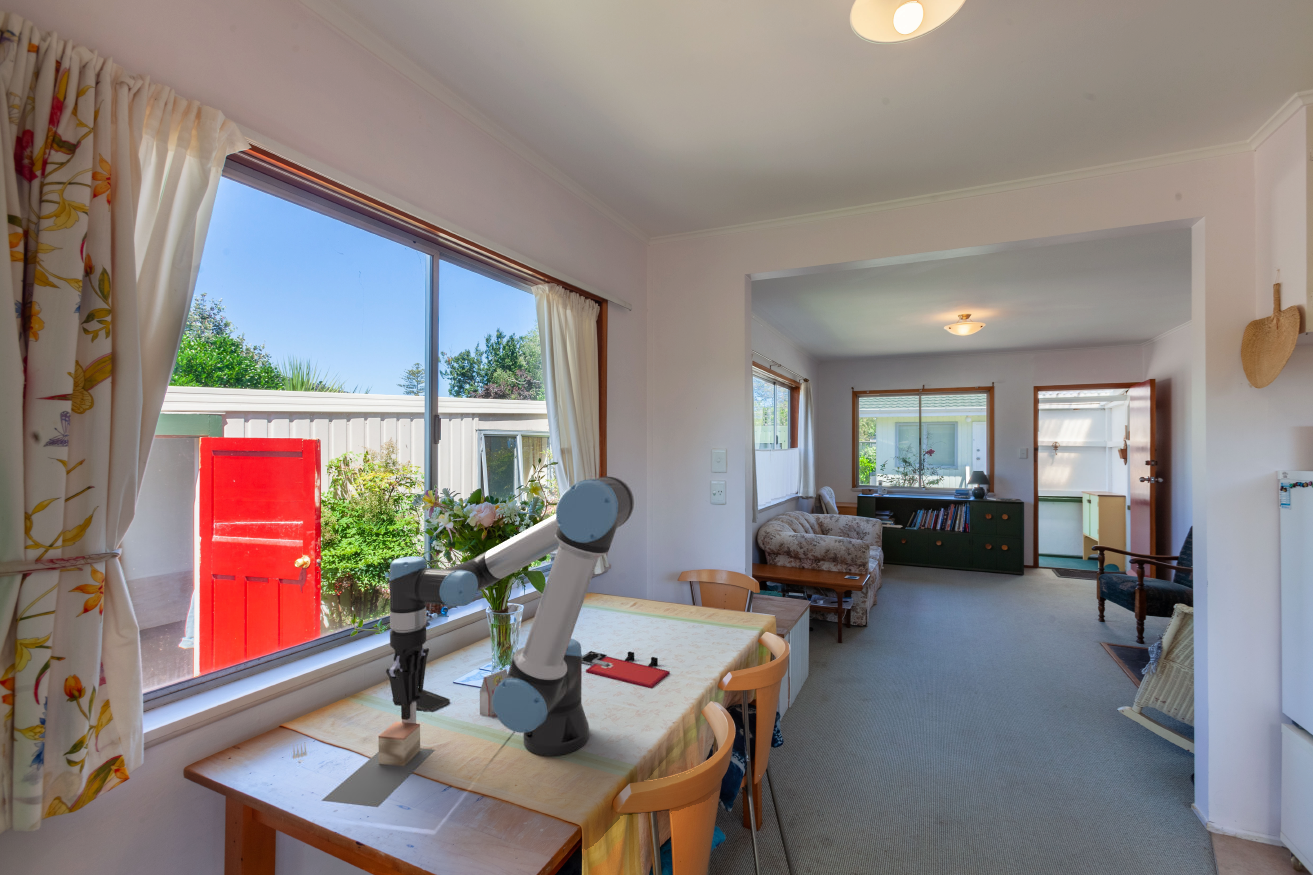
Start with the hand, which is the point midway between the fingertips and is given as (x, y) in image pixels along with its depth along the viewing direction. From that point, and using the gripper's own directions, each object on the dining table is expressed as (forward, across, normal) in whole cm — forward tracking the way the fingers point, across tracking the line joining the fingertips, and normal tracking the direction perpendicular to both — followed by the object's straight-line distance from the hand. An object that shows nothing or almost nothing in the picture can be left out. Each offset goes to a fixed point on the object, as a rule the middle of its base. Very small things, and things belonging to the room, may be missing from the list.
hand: (409, 730), depth 129 cm
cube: (+4, +4, 0) cm, 5 cm away
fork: (+5, +10, -19) cm, 22 cm away
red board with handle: (+6, -52, +37) cm, 64 cm away
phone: (+6, -22, -11) cm, 25 cm away
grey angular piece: (+5, -20, +11) cm, 24 cm away
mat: (+4, +10, 0) cm, 11 cm away
